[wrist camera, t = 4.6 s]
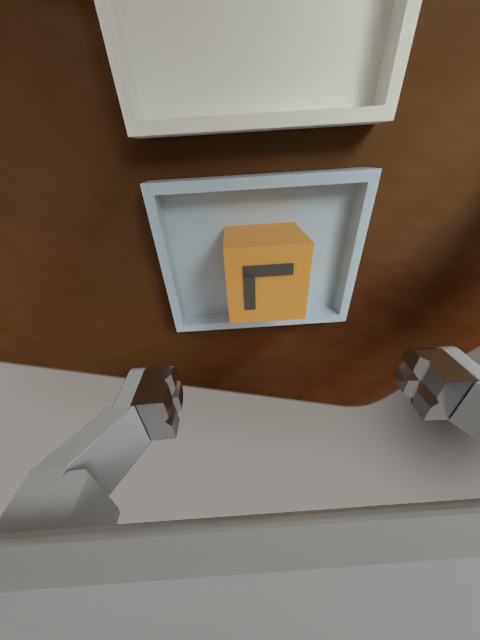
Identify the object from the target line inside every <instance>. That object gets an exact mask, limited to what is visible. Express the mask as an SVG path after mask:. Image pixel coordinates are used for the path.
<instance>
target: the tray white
mask: <svg viewBox="0 0 480 640" xmlns="http://www.w3.org/2000/svg"><path fill="white" fill-rule="evenodd" d="M94 3H95V7H96V11H97V15H98V19H99V23H100V27H101V31H102V35H103V39H104V43H105V47H106V51H107V55H108V59H109V63H110V67H111V71H112V75H113V79H114V83H115V87H116V91H117V95H118V99H119V103H120V107H121V111H122V115H123V119H124V123H125V127H126V131H127V135H128V137H131V138H137V139H143V138H160V137H176V136H192V135H208V134H224V133H240V132H256V131H272V130H288V129H304V128H320V127H336V126H352V125H369V124H378V123H383V122H388V121H394V117H395V113H396V108H397V104H398V100H399V96H400V92H401V88H402V83H403V79H404V75H405V71H406V67H407V63H408V58H409V54H410V50H411V46H412V42H413V37H414V33H415V29H416V25H417V21H418V17H419V12H420V8H421V4H422V0H94Z"/></svg>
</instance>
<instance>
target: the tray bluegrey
mask: <svg viewBox="0 0 480 640" xmlns="http://www.w3.org/2000/svg"><path fill="white" fill-rule="evenodd" d="M381 171H382V168H372V167H358V168H342V169H326V170H310V171H294V172H278V173H262V174H246V175H230V176H215V177H199V178H183V179H167V180H151V181H146V182H144V183H141V184H140V187H141V191H142V195H143V199H144V203H145V207H146V211H147V215H148V219H149V223H150V227H151V231H152V235H153V239H154V243H155V247H156V251H157V255H158V259H159V262H160V266H161V270H162V274H163V278H164V282H165V286H166V290H167V294H168V298H169V302H170V306H171V310H172V314H173V318H174V322H175V326H176V330H177V332H189V331H204V330H219V329H235V328H250V327H265V326H280V325H296V324H311V323H326V322H341V321H346V318H347V313H348V309H349V305H350V301H351V297H352V292H353V288H354V284H355V280H356V276H357V272H358V267H359V263H360V259H361V255H362V251H363V246H364V242H365V238H366V234H367V230H368V226H369V221H370V217H371V213H372V209H373V205H374V200H375V196H376V192H377V188H378V184H379V180H380V175H381ZM283 222H295V224H296V225H297V226H298V227H299V228H300V229H301V230H302V231H303V232H304V233H305V234H306V235H307V236H308V237H309V238H310V239H311V240H312V241H313V242H314V250H313V258H312V266H311V274H310V283H309V291H308V299H307V307H306V315H305V319H294V320H278V321H263V322H248V323H233V324H230V320H229V310H228V299H227V288H226V277H225V266H224V256H223V238H224V226H236V225H252V224H268V223H283Z"/></svg>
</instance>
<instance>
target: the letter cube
mask: <svg viewBox="0 0 480 640" xmlns="http://www.w3.org/2000/svg"><path fill="white" fill-rule="evenodd" d="M313 250H314V242H313V241H312V240H311V239H310V238H309V237H308V236H307V235H306V234H305V233H304V232H303V231H302V230H301V229H300V228H299V227H298V226H297V225H296V224H295V222H283V223H268V224H252V225H236V226H224V238H223V256H224V266H225V277H226V288H227V299H228V310H229V320H230V324H233V323H248V322H263V321H278V320H294V319H305V315H306V307H307V299H308V291H309V283H310V274H311V266H312V258H313Z"/></svg>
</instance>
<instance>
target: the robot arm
mask: <svg viewBox="0 0 480 640" xmlns="http://www.w3.org/2000/svg"><path fill="white" fill-rule="evenodd" d="M402 360H403V362H404V363H403V364H401V365H400V366H399V367H398V368H397V371H396V374H395V375H396V382H397V385H398V387H399V389H400V390H401V391H402V393H404V394H405V395H407V396H408V397H410V398H411V405H412V406H413V407H414V409H415V410H416V411H417V413H418V414H419V415H420V416H421V418H422V419H423V420H444V419H445V420H446V419H450V420H449V421H450V422H452V423H453V424H455V425H456V426H457V427H459V428H460V429H462V430H463V431H465V432H466V433H468V434H469V435H470V436H472V437H473V438H475V439H476V440H478V441H479V442H480V366H479V365H478V364H477V363H476V362H474V361H473V360H472V359H471V358H469V357H468V356H467V355H466V354H465V353H463V352H462V351H461V350H460V349H458V348H456V347H453V346H446V347H436V348H422V349H410V350H407V351H406V352H404V354H403V356H402ZM178 375H179V373H178V370H177V367H175V366H166V367H147V368H132V369H131V370H130V371H129V373H128V375H127V377H126V379H125V381H124V383H123V385H122V388H121V390H120V392H119V394H118V396H117V398H116V400H115V402H114V405H113V407H112V408H107V409H106V410H104V411H103V412H102V413H101V414H99V415H98V416H97V417H96V418H95V419H93V420H92V421H91V422H90V423H89V424H87V425H86V426H85V427H83V428H82V429H81V430H80V431H79V432H77V433H76V434H75V435H74V436H72V437H71V438H70V439H69V440H68V441H66V442H65V443H64V444H63V445H61V446H60V447H59V448H58V449H56V450H55V451H54V452H53V453H52V454H50V455H49V456H48V457H47V458H46V459H44V460H43V461H42V462H41V463H39V464H38V465H37V466H36V467H34V468H33V469H32V470H31V471H30V472H29V473H28V475H27V476H26V478H25V479H24V481H23V483H22V484H21V486H20V487H19V489H18V491H17V492H16V494H15V495H14V497H13V498H12V500H11V501H10V503H9V505H8V506H7V508H6V509H5V511H4V512H3V514H2V516H1V517H0V640H480V498H478V499H467V500H466V499H465V500H452V501H451V500H450V501H437V502H424V503H409V504H395V505H381V506H367V507H353V508H339V509H325V510H311V511H297V512H285V513H269V514H256V515H242V516H228V517H214V518H200V519H186V520H172V521H159V522H145V523H132V524H117V522H118V518H119V515H120V511H119V509H118V507H117V506H116V505H115V504H114V502H113V501H112V500H111V499H110V498H109V495H110V494H111V493H112V491H113V490H114V489H115V487H116V486H117V485H118V483H119V482H120V481H121V480H122V478H123V477H124V476H125V475H126V473H127V472H128V471H129V469H130V468H131V467H132V465H133V464H134V463H135V462H136V460H137V459H138V458H139V456H140V455H141V454H142V453H143V451H144V450H145V449H146V448H147V446H148V445H149V444H150V443H151V440H161V439H171V438H176V435H177V430H178V425H179V417H178V414H177V413H178V412H179V411H180V410H181V409H182V403H183V389H182V384H181V382H180V381H178V380H177V379H178Z"/></svg>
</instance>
